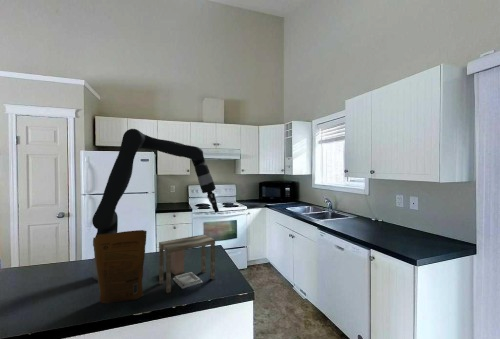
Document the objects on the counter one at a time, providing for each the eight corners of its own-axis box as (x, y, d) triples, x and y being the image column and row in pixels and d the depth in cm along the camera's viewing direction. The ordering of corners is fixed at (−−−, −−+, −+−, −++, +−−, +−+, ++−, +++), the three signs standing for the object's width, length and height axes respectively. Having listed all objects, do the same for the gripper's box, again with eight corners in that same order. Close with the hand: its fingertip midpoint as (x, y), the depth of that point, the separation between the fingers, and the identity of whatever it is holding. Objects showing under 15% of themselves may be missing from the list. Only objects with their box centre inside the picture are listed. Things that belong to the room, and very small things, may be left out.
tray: (172, 279, 119) (172, 276, 119) (192, 274, 125) (192, 271, 125) (182, 288, 110) (182, 285, 110) (202, 282, 116) (202, 279, 116)
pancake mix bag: (145, 300, 100) (145, 231, 100) (91, 307, 95) (92, 234, 95) (147, 292, 106) (147, 227, 106) (97, 298, 101) (97, 230, 101)
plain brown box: (169, 270, 130) (169, 247, 130) (179, 268, 133) (179, 245, 133) (174, 274, 124) (174, 251, 124) (184, 272, 127) (184, 249, 127)
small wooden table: (159, 283, 115) (159, 242, 115) (203, 270, 129) (203, 234, 129) (167, 293, 106) (167, 248, 106) (215, 279, 119) (215, 239, 120)
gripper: (199, 184, 140) (208, 211, 141) (200, 186, 126) (210, 215, 127) (211, 180, 141) (221, 206, 143) (214, 181, 128) (224, 210, 129)
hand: (216, 210), depth 135 cm, fingers open, 8 cm apart
